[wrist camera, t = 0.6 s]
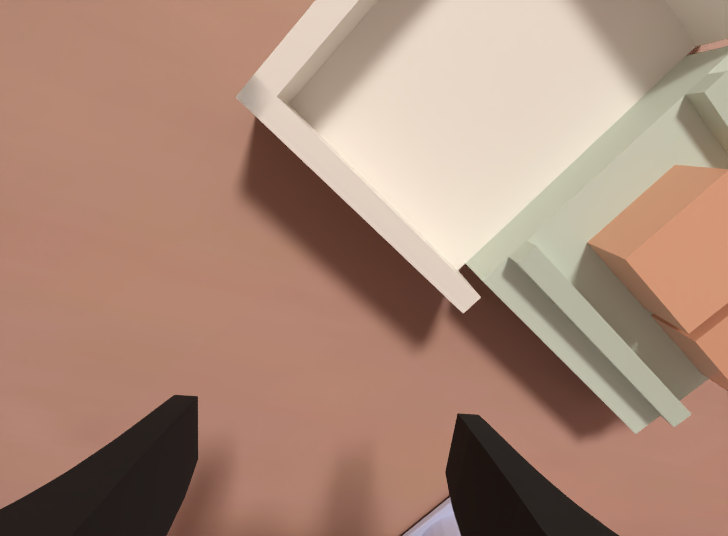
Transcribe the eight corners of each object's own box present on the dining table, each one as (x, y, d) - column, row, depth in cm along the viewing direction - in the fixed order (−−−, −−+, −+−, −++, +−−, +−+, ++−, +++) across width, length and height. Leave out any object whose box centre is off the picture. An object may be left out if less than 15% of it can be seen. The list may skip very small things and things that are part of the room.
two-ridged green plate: (802, 237, 21) (898, 259, 18) (600, 398, 24) (648, 446, 20) (679, 57, 19) (764, 37, 15) (463, 261, 21) (489, 288, 17)
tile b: (730, 238, 18) (789, 254, 16) (644, 308, 19) (688, 333, 16) (674, 164, 17) (729, 169, 15) (587, 242, 18) (625, 259, 15)
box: (707, 30, 18) (804, 2, 14) (441, 281, 21) (463, 313, 17) (540, -230, 15) (606, -351, 11) (257, 104, 18) (235, 97, 14)
